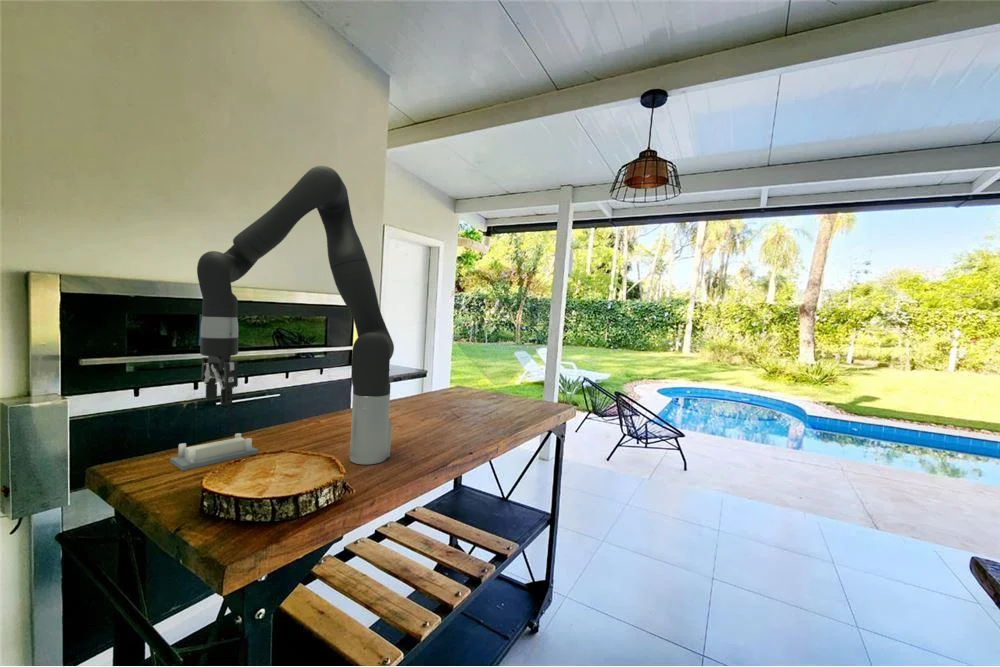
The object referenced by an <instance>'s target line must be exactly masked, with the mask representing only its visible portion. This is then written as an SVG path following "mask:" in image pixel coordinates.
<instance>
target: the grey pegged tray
mask: <svg viewBox="0 0 1000 667" xmlns="http://www.w3.org/2000/svg"><path fill="white" fill-rule="evenodd" d="M239 437H242V433H240V432H238V433H235V434H234V438H239ZM244 439H245V450H240V451H236V452H231V453H226V454H222V455H217V456H212V457H208V458H203V459H199V460H196V449H190V450H188V460H187V459H185V448H186V447H187V443H185V442H184V443H182V442H181V443H179V444H178V454H177V455H178V456H174V457H173V456H172V457H170V458H169V463H170V464H172V465H174V466H175V467H176V468H178V469H179V470H181V471H182V472H183V471H186V470H187V471H188V470H191V469H196V468H199V467H205V466H209V465H213V464H218V463H222V462H226V461H227V462H228V461H231V460H235V459H239V458H244V457H249V456H252V455H253V456H254V455H257V454H259V448H256V447H255V446H254V447H253V446H252V443H253V442H252V441H253V439H252V437H247V438H244Z"/></svg>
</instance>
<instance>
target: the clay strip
mask: <svg viewBox="0 0 1000 667" xmlns="http://www.w3.org/2000/svg"><path fill="white" fill-rule="evenodd" d="M245 439H246V438H244V437H242V436H241V437H239V438H235V437H234V438H228V439H224V440H220V441H213V442H209V443H203V444H197V445H192V446H188V447H187V446H186V448H185V459H187V460H188V450H190V449H196V460H199V459H203V458H208V457H212V456H217V455H222V454H226V453H231V452H236V451H240V450H245Z"/></svg>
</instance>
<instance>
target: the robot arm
mask: <svg viewBox="0 0 1000 667" xmlns="http://www.w3.org/2000/svg"><path fill="white" fill-rule="evenodd" d="M348 194H349V193H348V189H347V186H346V185H345V183H344V181H343V179H342V177H341V176H340V174H338V172H337V171H336V170H335V169H333V168H332V167H329V166H326V165H317V166H314V167H312V168H310V169H309V170H308V171H307V172H306V173H304V174H303V176H302V177H301V178H300V179H299V180H298V181H297V182H296V183H295V185H293V187H292V188H290V190H289V191H288V192H287V193H286V194H284V195H283V197H282V198H281V199H280V200H278V202H277V203H275V204H274V205H273V206H272V207H271V208H270V209H269V210H267V212H265V213H263V215H262V216H260V217H259V218H258V219H256V220H255V221H254V222H253V223H251V224H250V225H248V226H247V227H245V228H244V229H243V230H242V231H240V232H239V233H238V234H236V236H234V237H233V239H232V243H233V245H232V246H231V247H229V248H228V249H227V250H226V251H225V252H221V251H216V250H215V251H214V250H211V251H207V252H205V253H203V254H202V255H201V256H200V258H199V259H198V262H197V265H196V274H197V282H198V284H199V288H200V293H201V296H202V312H201V313H202V314H201V315H202V318H201V323H200V348H199V349H200V356H203V357H201V376H200V379H201V381H202V382H203V384H204V385H205V400H209V401H211V400H215V399H217V397H218V384H217V383H219V386H220V404H221V406H227V405H229V406H230V405H231V404H233V389H234V388H237V387H238V384H239V373H238V371H239V370H238V369H239V368H238V367H239V366H238V365H239V363H238V362H237V361H232V360H231V357H232V356H236V355H238V353H239V321H238V320H239V319H238V310H239V309H238V308H239V306H238V305H239V304H238V303H239V302H238V297H237V296H236V295H235V294H234V293H233V291H232V283H234V282H236V281H238V280H240V279H241V278H243V277H244V276H245V275H246V274H247V273H248V272H249V271H250V270H251V269H252V267H254V265H255V264H256V263H257V262H258V261H259V260H260V259H261V258H262V257H264V256H265V255H267V254H268V253H269V252H271V251H272V250H273V249H274V248H276V247H277V246H278V245H279V244H280V243H281V242H283V241H284V240H285V239H286V237H288V235H289V234H290V232H291V231H292V229H293V228H294V227H295V226H296V225H297V224H298V222H299V221H300V220H301V219H302V218H304V217H305V216H306V215H308V214H309V213H310V212H312V211H314V210H315V209H316V210H317V212H318V214H319V217H320V219H321V222H322V224H323V228H324V230H325V235H326V243H327V245H326V247H327V258H328V263H329V267H330V271H331V273H332V277H333V281H334V284H335V286H336V289H337V291H338V293H339V295H340V297H341V299H342V301H343V303H344V304H345V306H346V308H347V309H348V311H349V312H350V315H351V316H352V320H353V322H354V326H355V329H356V334H357V335H356V336H357V338H356V339H355V341H354V343H353V345H352V351H351V353H352V354H351V384H352V404H351V405H352V407H351V425H350V426H351V428H350V443H349V445H350V447H349V461H350V462H351V463H353V464H358V465H375V464H380V463H383V462H385V461H386V459H388V458H390V457H391V443H392V442H391V440H392V425H393V424H392V421H391V420H390V404H391V401H390V399H391V383H390V382H391V381H390V363H391V362H390V361H391V359H392V357H393V355H394V351H395V344H394V342H393V339H392V336H391V334H390V333H389V330H388V328H387V325H386V323H385V320H384V317H383V314H382V312H381V309H380V308H381V307H380V305H379V301H378V296H377V292H376V287H375V283H374V278H373V276H372V271H371V268H370V265H369V261H368V258H367V257H366V253H365V250H364V247H363V244H362V242H361V239H360V237H359V235H358V233H357V230H356V227H355V225H354V220H353V215H352V211H351V206H350V199H349V195H348Z"/></svg>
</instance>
